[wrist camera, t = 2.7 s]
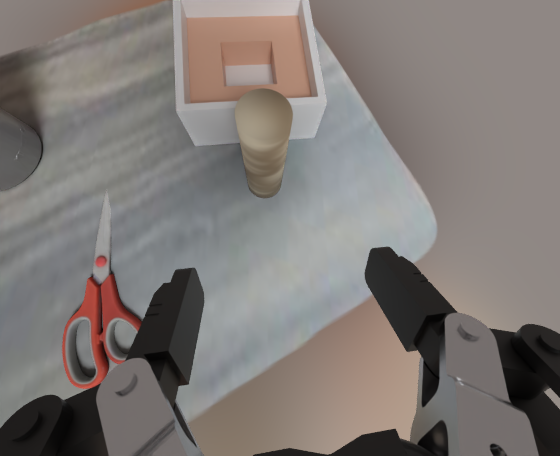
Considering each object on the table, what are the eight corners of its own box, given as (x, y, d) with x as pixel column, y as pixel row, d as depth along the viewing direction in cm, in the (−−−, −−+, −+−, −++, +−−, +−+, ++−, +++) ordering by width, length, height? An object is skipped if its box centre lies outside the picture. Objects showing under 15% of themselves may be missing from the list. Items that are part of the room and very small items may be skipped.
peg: (249, 199, 26) (236, 141, 15) (246, 168, 27) (232, 89, 15) (282, 196, 27) (296, 137, 15) (279, 165, 28) (289, 87, 16)
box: (195, 146, 27) (176, 111, 22) (190, 46, 30) (172, -9, 24) (314, 137, 29) (326, 103, 23) (299, 42, 32) (306, -10, 26)
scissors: (116, 179, 26) (108, 173, 25) (157, 361, 23) (150, 366, 22) (47, 198, 26) (34, 193, 24) (78, 390, 22) (65, 398, 21)
